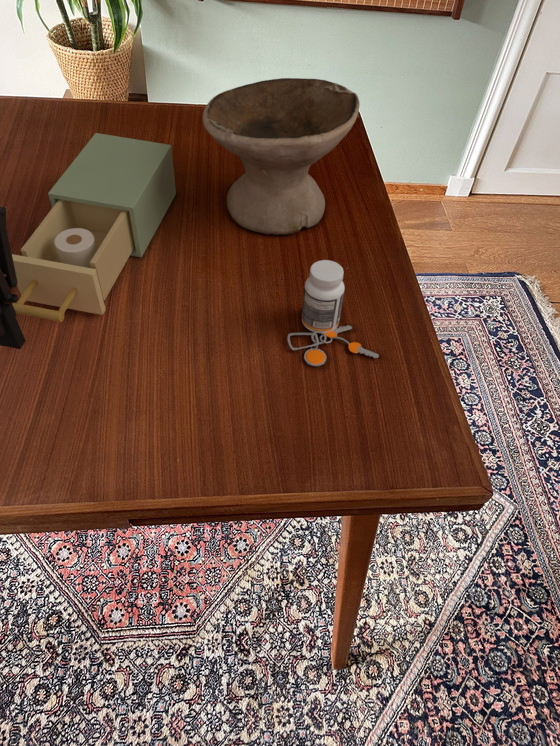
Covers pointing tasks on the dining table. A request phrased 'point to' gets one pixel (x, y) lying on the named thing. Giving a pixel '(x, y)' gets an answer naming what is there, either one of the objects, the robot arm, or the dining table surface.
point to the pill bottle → (323, 296)
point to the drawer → (69, 282)
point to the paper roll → (75, 247)
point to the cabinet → (122, 182)
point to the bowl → (279, 147)
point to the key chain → (318, 356)
